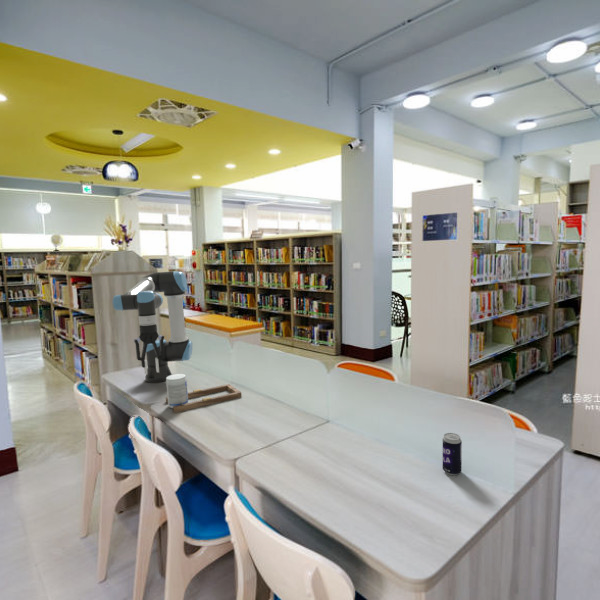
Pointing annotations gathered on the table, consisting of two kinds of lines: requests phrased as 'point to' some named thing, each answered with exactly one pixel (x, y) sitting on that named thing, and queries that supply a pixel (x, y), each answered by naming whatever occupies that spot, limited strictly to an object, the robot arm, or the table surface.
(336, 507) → the table surface
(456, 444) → the beverage can
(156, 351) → the robot arm
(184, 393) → the supplement tub
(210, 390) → the beam track
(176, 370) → the table surface
